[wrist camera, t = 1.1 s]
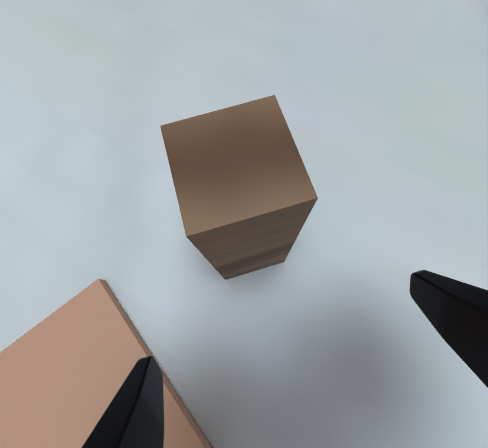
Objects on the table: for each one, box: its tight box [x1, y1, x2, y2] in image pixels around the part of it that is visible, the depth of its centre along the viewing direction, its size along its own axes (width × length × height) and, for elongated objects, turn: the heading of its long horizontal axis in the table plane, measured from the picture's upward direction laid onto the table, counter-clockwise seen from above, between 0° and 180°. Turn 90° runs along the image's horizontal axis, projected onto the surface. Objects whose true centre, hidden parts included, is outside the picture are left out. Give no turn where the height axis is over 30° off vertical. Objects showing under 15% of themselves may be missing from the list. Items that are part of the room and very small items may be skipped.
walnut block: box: [161, 95, 318, 280], centre depth 17 cm, size 5×5×13 cm
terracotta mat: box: [0, 279, 211, 448], centre depth 18 cm, size 16×16×1 cm
